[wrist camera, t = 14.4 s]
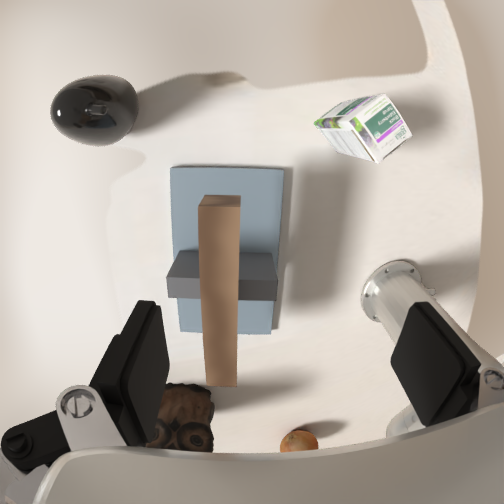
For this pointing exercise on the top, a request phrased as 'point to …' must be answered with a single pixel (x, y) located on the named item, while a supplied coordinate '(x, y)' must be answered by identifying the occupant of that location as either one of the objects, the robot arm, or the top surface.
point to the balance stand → (250, 245)
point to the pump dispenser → (95, 109)
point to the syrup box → (365, 128)
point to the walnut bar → (219, 285)
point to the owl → (184, 419)
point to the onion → (299, 442)
